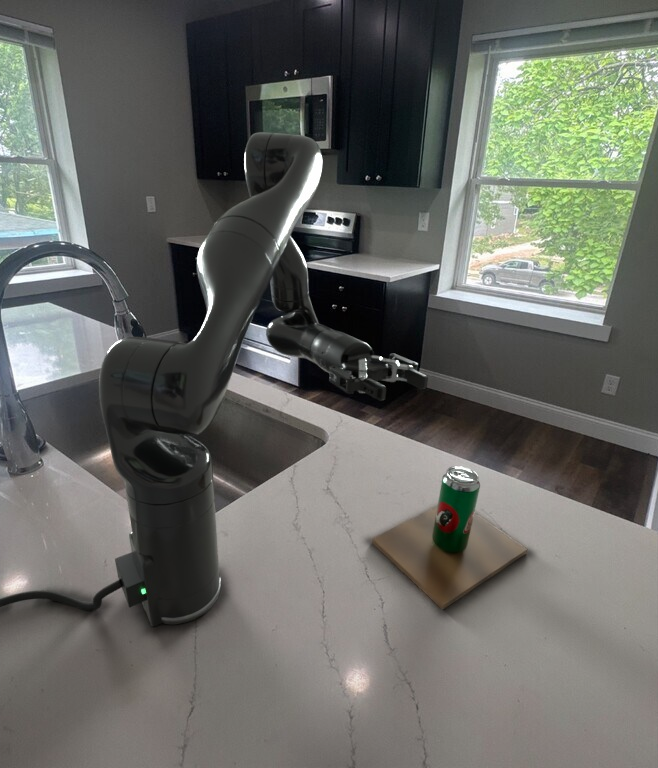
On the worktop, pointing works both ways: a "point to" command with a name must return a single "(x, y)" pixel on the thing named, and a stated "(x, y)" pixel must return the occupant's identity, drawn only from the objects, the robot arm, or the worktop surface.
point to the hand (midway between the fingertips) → (405, 388)
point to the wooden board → (447, 556)
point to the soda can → (455, 509)
